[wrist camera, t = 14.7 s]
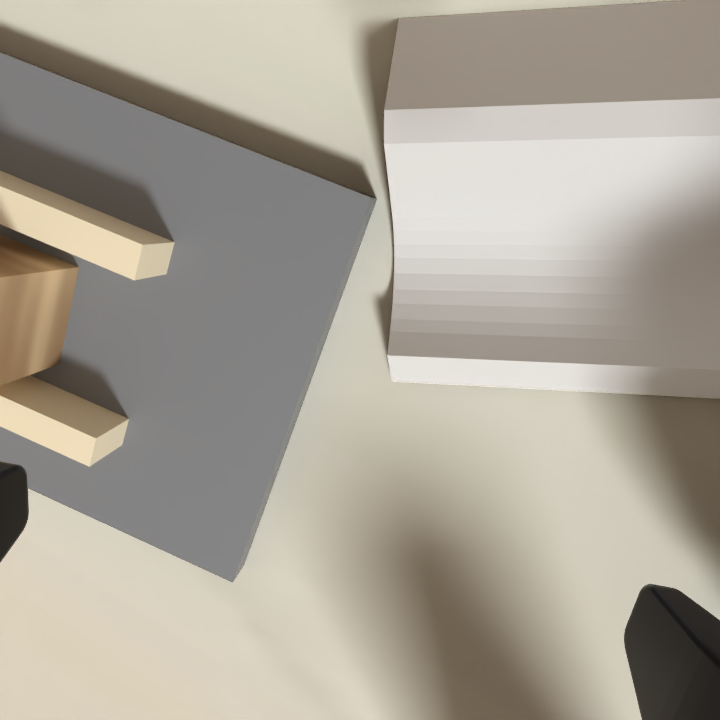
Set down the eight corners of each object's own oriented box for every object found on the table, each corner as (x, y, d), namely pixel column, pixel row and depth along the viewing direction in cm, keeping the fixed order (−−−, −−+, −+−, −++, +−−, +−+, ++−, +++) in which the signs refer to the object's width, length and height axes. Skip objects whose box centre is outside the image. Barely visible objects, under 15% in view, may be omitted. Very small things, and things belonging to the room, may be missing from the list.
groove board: (376, 199, 19) (359, 195, 16) (244, 564, 24) (210, 616, 21) (-168, -14, 21) (-278, -54, 18) (-190, 366, 25) (-280, 387, 22)
